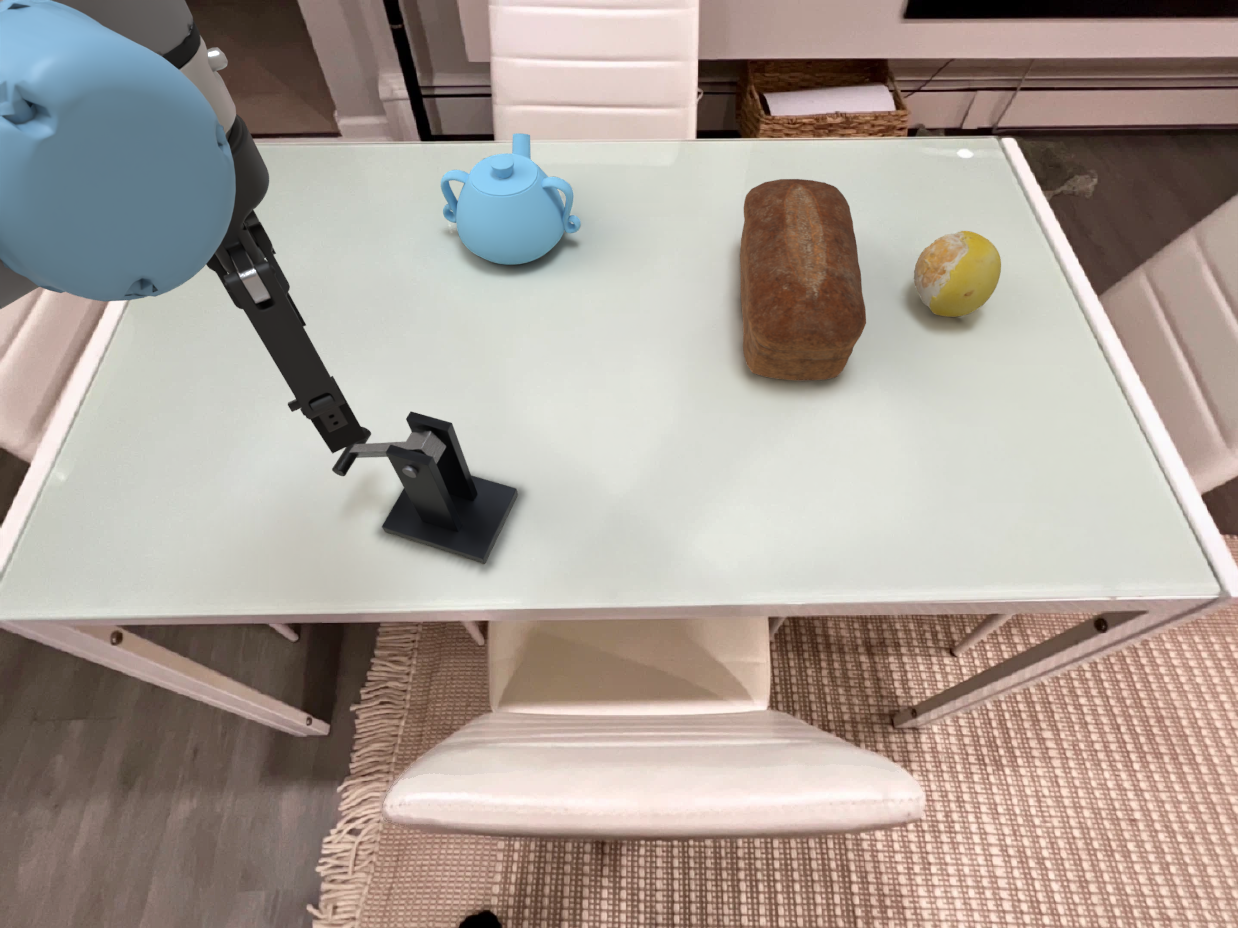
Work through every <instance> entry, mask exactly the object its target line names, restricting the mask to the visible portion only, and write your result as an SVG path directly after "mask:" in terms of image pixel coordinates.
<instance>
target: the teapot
mask: <svg viewBox="0 0 1238 928" xmlns="http://www.w3.org/2000/svg"><path fill="white" fill-rule="evenodd" d="M511 142H512V144H511V145H512V147H511V148H512V151H511V153H509V152H507V153H497V154H493V155H490V156H487V157H485V158H483V159H481V160H480V161H479V162H477V163H475V164H474V166H473V167H472V169H471V170H470V172H467V171H464V170H461V169H451V170H449V171H447V172H445V173H444V174H443V175H442V177H441V179H440V189H441V192H442V195H443V197H444V199H445V201H446V203H447V204H445V205H444V206H443V208H442V214H443V217H444V219H445V220H447V221H448V222H450V223H454V224H456V230H457V234H458V237H459V240H460V241H461V243H463V245H464V246H465V248H467V249H468V250H469V251H470V252H471V253H473V254H474V255H476V256H477V257H480V258H481V259H484V260H486V261H488V262H491V263H495V264H499V265H511V266H512V265H522V264H527V263H530V262H533V261H535V260H539V259H540V258H542V257H543V256H545V255H546V254H547V253H548V252H550V251H551V250H552V249H553V248H554V247H555V246H556V245H557V244H558V243H559V241H560V240H561V239H562V237H563V235H564V233H567V234H574V233H577V232H578V231H579V230H580V228H581V225H582V222H581V219H580V218H579V217H578V216H577V215H575V214H571V213H572V209H573V204H574V197H575V196H574V195H575V194H574V190H573V187H572V186H571V184H570V183H569V182H567V180H565V179H564V178H561V177H558V176H549V175H547V173H546V172H545V171H544V170H543V169H542V168H541V166H539V164H537V163H536V162H535V161H533V159H531V157H532V156H531V153H532V152H531V134H528V133H519V132H518V133H512V141H511ZM451 181H456V182H460V183H462V187H461V189H460V193H459V195H458V199H457V196H455V193H454V192H453V190H452V187H451V185H450V182H451ZM560 192H562V194H564V196H565V204H564V201H563V198H562V196H561V194H560Z"/></svg>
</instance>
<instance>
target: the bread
mask: <svg viewBox="0 0 1238 928" xmlns="http://www.w3.org/2000/svg"><path fill="white" fill-rule="evenodd" d="M743 218H744V219H743V220H744V222H743V227H742V232H741V238H740V248H739V249H740V250H739V266H740V282H739V283H740V304H741V313H742V314H741V315H742V350H743V357H744V360H745V364H746V366H747V367H748V369H749V370H750V372H751V373H752V374H755V375H758V376H761V377H764V378H770V379H775V380H776V379H777V380H785V381H796V382H797V381H802V382H803V381H804V382H805V381H825V380H830V379H835V378H837V377H838V376H839V375H840V374H841V373H842V372H843V371H844V369H845V367H846V366H847V364H848V362H849V358H850V357H851V355H852V353H853V351H854V350H853V349H854V347H855V345H856V344H857V343H858V341H859V339H860V338H861V336H862V334H863V331H864V330H865V327H866V324H867V315H866V305H865V299H864V294H863V287H862V286H863V284H862V273H861V272H862V271H861V267H860V264H859V263H860V262H859V256H858V254H859V253H858V245H857V238H856V234H855V231H854V230H855V229H854V222H853V216H852V213H851V208H850V205H849V203H848V201H847V199H846V197H845V196H844V194H843V193H842V192H841V190H840V189H839V188H838V187H836V186H835V185H832V184H829V183H827V182H823V181H817V180H813V179H803V178H801V179H800V178H780V179H774V180H771V181H770V180H769V181H765V182H764V181H763V182H762V183H761V184H758V185H756V186H754V187H752V188H751V189H749V191H748V192H747V193H746V195H745V197H744V203H743Z"/></svg>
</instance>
